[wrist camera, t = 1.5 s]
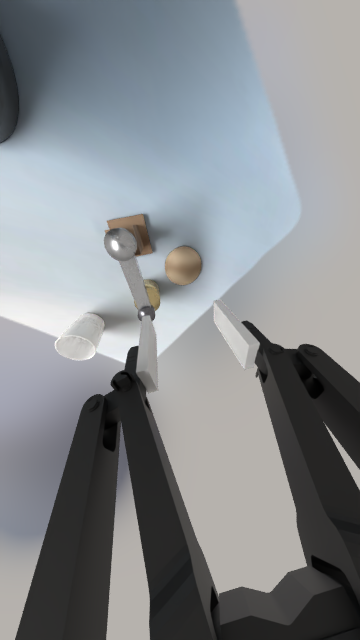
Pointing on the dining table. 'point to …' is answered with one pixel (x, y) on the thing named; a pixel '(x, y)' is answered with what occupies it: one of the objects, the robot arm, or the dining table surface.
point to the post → (134, 232)
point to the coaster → (183, 265)
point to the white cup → (81, 337)
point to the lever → (129, 267)
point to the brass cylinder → (152, 293)
